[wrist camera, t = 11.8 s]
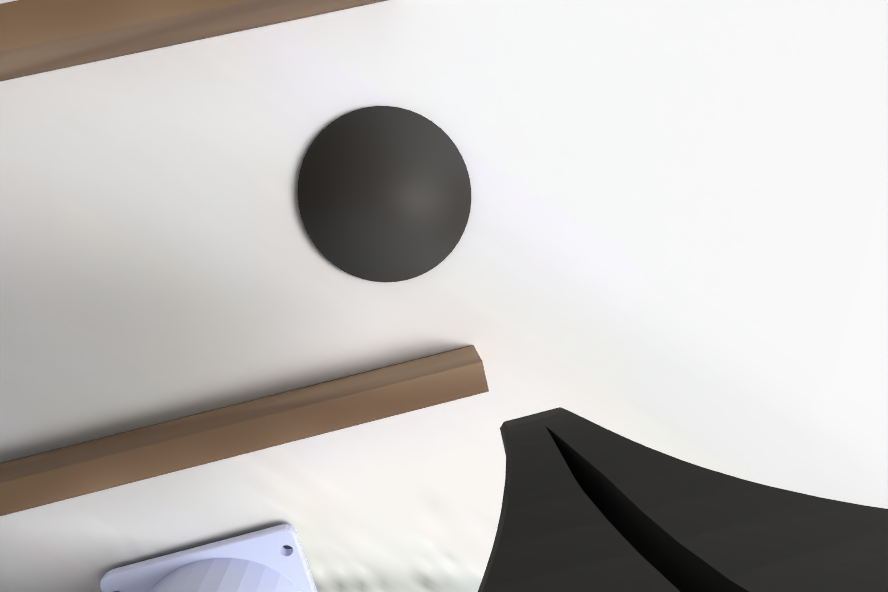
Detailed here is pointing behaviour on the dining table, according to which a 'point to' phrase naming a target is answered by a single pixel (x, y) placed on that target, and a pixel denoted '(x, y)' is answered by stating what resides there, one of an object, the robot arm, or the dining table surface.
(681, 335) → the dining table surface
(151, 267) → the dining table surface
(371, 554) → the dining table surface
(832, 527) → the robot arm
